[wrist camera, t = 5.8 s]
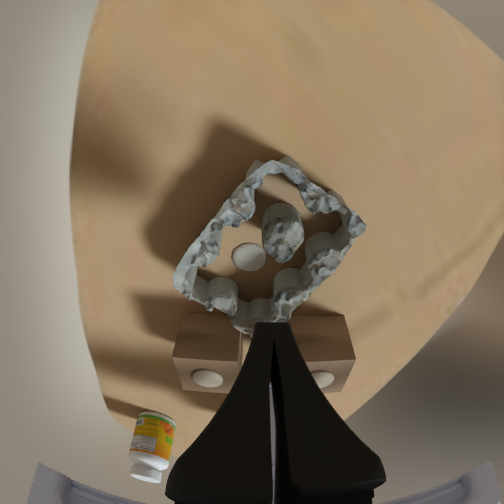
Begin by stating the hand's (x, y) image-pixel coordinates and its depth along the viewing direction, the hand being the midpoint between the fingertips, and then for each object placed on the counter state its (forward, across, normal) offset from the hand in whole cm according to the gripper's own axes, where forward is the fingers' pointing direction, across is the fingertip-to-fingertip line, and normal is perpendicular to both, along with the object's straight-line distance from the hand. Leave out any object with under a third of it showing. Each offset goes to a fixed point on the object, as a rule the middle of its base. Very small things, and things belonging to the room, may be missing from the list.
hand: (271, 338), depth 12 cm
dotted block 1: (+8, +4, +9) cm, 13 cm away
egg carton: (+8, 0, 0) cm, 8 cm away
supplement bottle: (+8, +14, +29) cm, 33 cm away
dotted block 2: (+8, -4, +9) cm, 13 cm away
